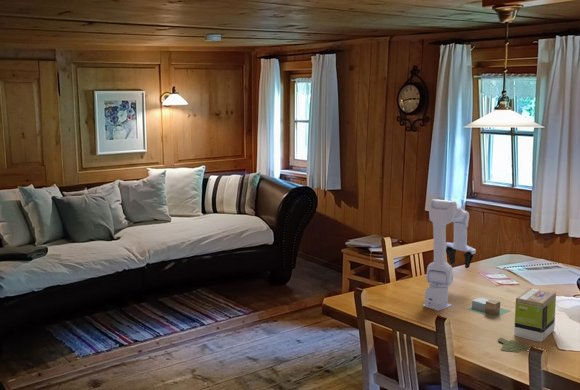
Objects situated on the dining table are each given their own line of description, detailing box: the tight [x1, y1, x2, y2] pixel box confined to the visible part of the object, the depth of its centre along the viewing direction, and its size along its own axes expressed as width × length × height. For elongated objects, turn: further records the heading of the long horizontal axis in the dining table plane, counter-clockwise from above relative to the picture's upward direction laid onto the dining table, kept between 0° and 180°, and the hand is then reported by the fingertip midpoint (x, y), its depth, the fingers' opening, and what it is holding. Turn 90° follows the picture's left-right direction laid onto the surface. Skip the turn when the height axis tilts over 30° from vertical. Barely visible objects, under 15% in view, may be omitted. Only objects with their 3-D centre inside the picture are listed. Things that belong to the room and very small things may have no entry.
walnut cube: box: [485, 298, 501, 316], centre depth 252 cm, size 4×4×5 cm
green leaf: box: [497, 337, 531, 354], centre depth 218 cm, size 11×18×1 cm, turn 36°
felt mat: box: [466, 306, 511, 319], centre depth 257 cm, size 12×13×1 cm
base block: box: [471, 297, 489, 311], centre depth 259 cm, size 6×6×3 cm
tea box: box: [513, 287, 557, 343], centre depth 232 cm, size 15×10×15 cm
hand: (459, 265), depth 283 cm, fingers open, 7 cm apart
